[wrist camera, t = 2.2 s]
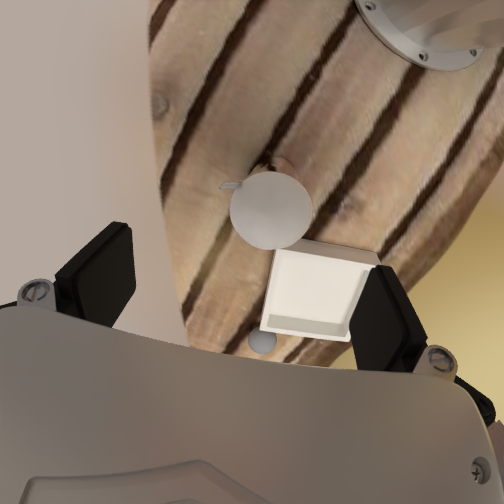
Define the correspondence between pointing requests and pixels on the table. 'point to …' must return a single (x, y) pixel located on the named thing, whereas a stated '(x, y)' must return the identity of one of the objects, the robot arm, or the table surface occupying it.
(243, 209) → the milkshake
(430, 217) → the table surface
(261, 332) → the ball
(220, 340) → the table surface
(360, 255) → the tray
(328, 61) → the table surface
